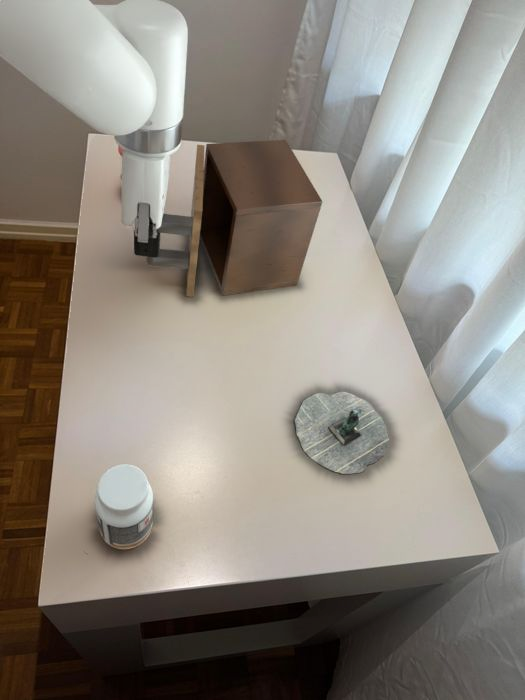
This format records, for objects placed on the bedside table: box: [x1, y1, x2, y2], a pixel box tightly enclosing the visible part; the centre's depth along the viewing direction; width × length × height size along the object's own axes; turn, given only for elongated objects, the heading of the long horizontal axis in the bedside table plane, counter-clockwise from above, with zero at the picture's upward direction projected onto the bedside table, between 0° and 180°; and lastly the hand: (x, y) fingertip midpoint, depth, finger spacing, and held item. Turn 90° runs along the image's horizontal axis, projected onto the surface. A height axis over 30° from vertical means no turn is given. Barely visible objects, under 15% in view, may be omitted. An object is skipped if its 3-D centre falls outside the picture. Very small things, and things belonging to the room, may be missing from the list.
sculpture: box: [294, 391, 390, 475], centre depth 73 cm, size 12×9×8 cm
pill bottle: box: [93, 463, 154, 550], centre depth 58 cm, size 6×6×10 cm
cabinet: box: [199, 139, 323, 297], centre depth 84 cm, size 12×14×16 cm
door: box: [145, 144, 205, 298], centre depth 81 cm, size 7×14×16 cm, turn 2°
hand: (147, 247), depth 78 cm, fingers closed on door, 2 cm apart
